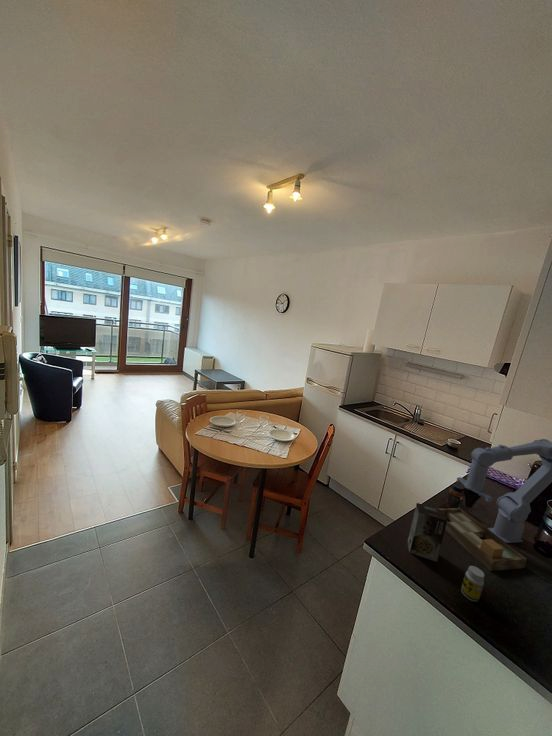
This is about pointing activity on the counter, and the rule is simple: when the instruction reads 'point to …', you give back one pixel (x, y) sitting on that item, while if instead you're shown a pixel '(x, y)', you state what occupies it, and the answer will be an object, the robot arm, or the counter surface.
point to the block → (492, 548)
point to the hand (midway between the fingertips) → (468, 506)
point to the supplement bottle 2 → (473, 583)
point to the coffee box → (427, 532)
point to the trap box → (480, 540)
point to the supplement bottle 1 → (455, 497)
